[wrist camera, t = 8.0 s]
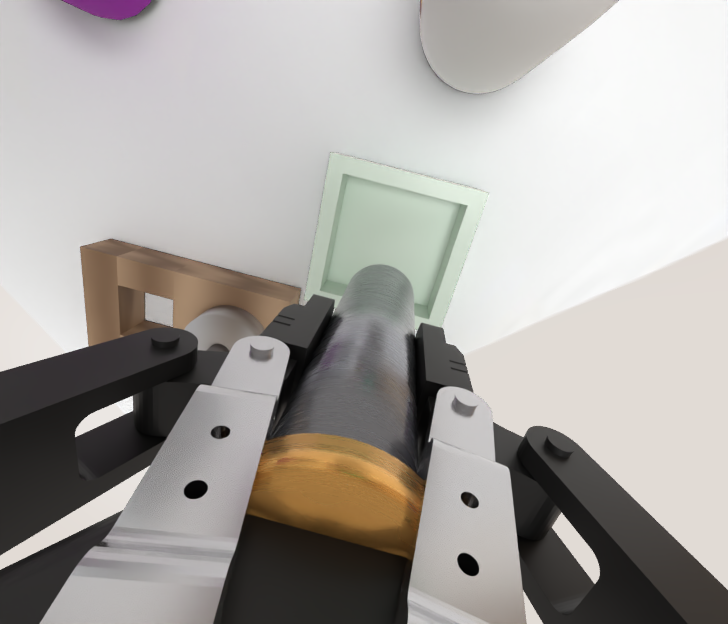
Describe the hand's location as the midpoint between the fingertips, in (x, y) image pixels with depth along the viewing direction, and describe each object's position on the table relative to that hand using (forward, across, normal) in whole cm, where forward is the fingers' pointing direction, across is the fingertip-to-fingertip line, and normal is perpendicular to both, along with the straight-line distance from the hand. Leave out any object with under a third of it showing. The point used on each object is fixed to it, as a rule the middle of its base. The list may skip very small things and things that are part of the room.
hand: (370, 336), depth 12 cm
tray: (+16, 0, 0) cm, 16 cm away
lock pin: (+4, 0, 0) cm, 4 cm away
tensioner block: (+16, +14, +10) cm, 24 cm away
